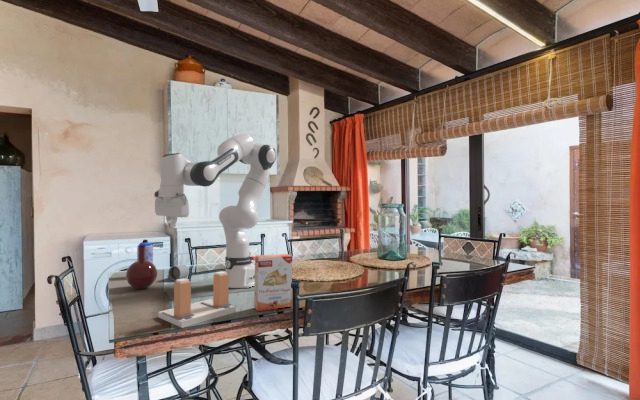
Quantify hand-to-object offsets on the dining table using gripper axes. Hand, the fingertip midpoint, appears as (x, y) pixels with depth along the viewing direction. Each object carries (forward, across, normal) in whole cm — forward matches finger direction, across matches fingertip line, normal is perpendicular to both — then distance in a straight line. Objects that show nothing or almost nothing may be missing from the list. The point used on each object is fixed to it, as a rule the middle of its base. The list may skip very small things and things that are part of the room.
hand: (171, 227), depth 147 cm
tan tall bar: (+29, -22, -8) cm, 37 cm away
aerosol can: (+31, +56, -16) cm, 66 cm away
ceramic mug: (+31, +39, -25) cm, 56 cm away
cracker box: (+31, -34, -24) cm, 52 cm away
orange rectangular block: (+29, -22, +8) cm, 37 cm away
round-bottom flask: (+31, +34, -4) cm, 46 cm away
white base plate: (+31, -19, 0) cm, 36 cm away
